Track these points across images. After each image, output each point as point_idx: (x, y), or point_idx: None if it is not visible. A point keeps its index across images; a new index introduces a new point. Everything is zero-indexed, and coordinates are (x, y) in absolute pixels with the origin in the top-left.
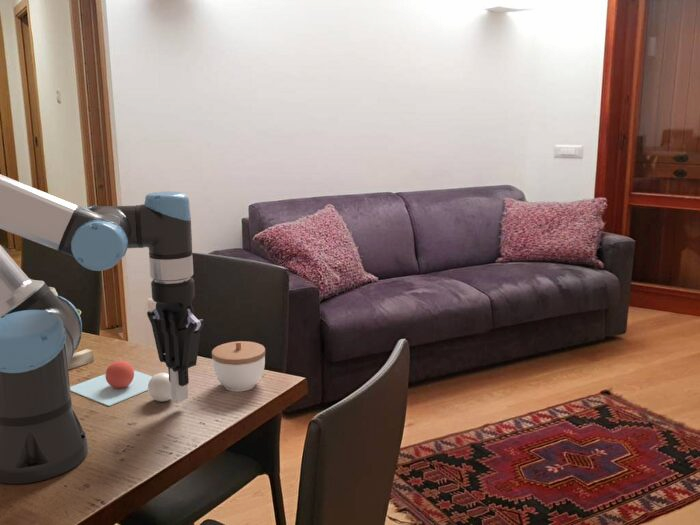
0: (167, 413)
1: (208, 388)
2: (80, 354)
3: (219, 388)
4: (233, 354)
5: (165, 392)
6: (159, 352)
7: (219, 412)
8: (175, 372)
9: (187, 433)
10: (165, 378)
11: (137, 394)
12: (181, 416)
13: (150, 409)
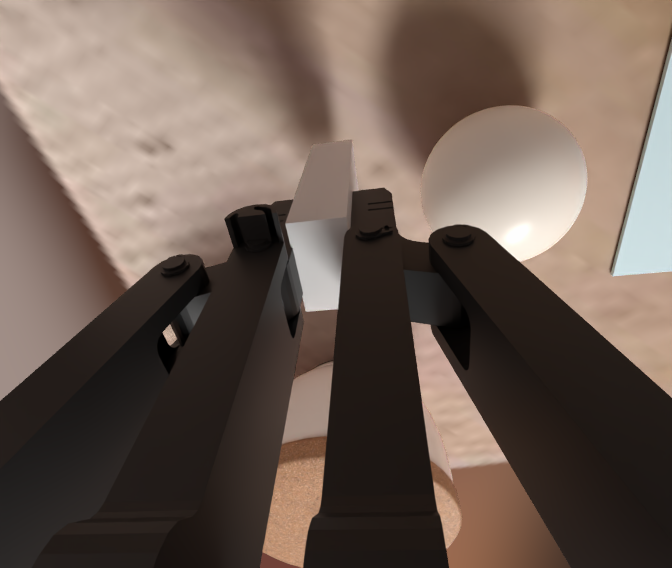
0: (346, 92)
1: (415, 332)
2: None
3: None
4: (306, 497)
5: (428, 159)
6: (494, 268)
7: (205, 244)
8: (289, 219)
9: (92, 34)
10: (469, 209)
11: (653, 109)
12: (272, 121)
13: (452, 56)
